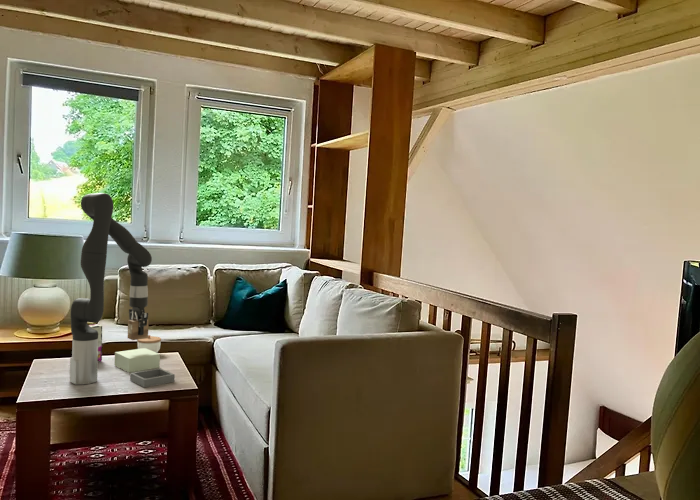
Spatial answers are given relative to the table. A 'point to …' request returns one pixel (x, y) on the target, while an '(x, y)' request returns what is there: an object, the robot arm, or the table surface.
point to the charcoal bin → (162, 379)
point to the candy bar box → (99, 329)
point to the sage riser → (137, 360)
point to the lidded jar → (150, 343)
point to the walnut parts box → (136, 330)
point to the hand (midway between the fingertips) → (137, 333)
